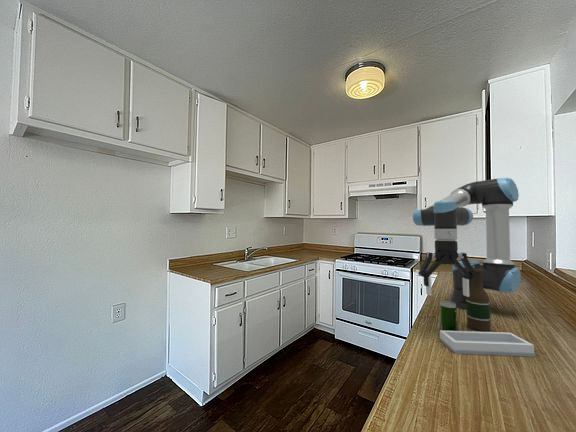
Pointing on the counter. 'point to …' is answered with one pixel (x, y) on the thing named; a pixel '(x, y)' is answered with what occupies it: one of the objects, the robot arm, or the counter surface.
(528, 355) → the tray
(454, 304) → the beer can
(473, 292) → the beer bottle
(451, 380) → the counter surface
